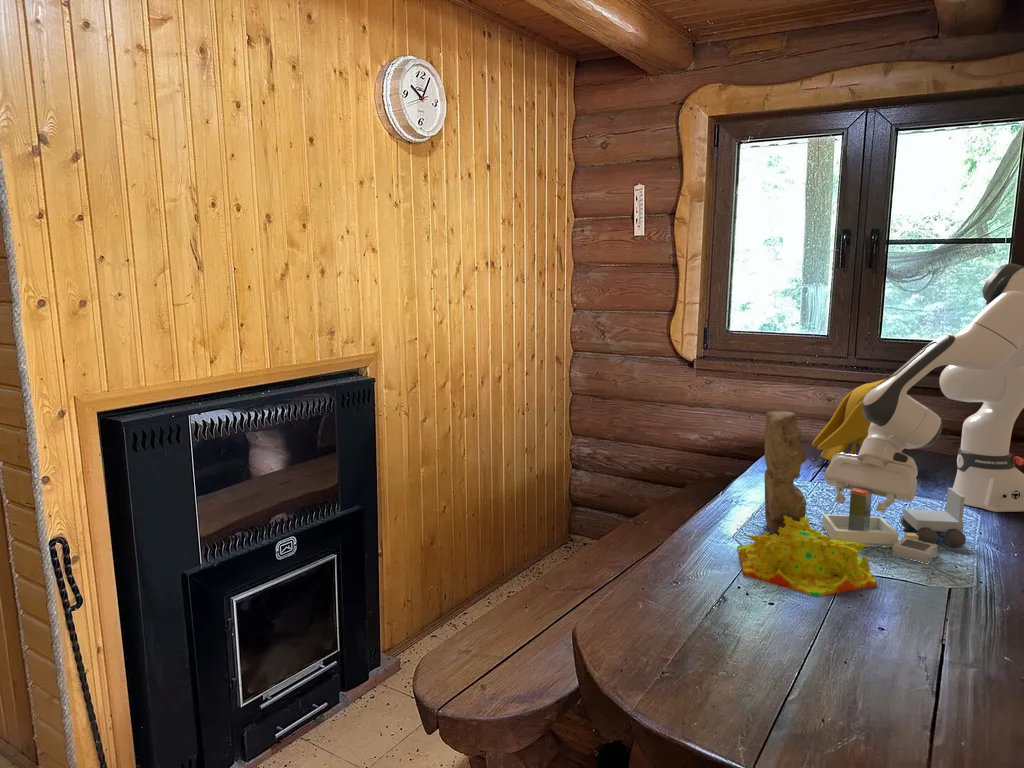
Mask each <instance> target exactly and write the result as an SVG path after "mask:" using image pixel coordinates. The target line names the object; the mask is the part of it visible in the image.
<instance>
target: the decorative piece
mask: <svg viewBox="0 0 1024 768" xmlns="http://www.w3.org/2000/svg"><path fill="white" fill-rule="evenodd" d="M783 517H784V519H785V521H784V522H783V523H785V524H786V526H785V527H784V528H782V527H778V528H779V530H777V531H778V532H779V533H780V534H779V536H778V535H777V534H771V533H770V532H769V531H765V533H764V534H760V535H750V534H749V535H746V536H747V537H748V538H751V539H752V540H753V541H754V542H753V543H748V544H747V543H746V544H744V545H743V544H742V545H737V551H738V556H739V561H740V565H741V571H742V574H743V576H746V577H748V578H749V577H750V578H752V579H755V580H759V581H762V582H766V583H767V584H768V583H769V584H772V585H776V586H779V587H783V588H786V589H789V590H791V591H792V590H793V591H795V592H796V591H797V592H799V593H802V594H806V595H809V596H812V597H820V596H826V595H833V594H837V593H843V592H850V591H851V592H852V591H856V590H860V589H866V588H867V589H868V588H872V587H877V584H878V581H877V580H876V577H875V576H874V574H872V572H871V571H870V565H869V559H868V556H866V557H865V556H864V555H861V557H862V558H861V557H860V556H859V553H860V551H861V550H863V548H864V547H867V546H866V545H870V544H864V543H857V542H851V541H846V540H845V541H844V542H843V541H842V539H838V538H834V539H832V538H831V539H830V537H829V536H828V534H825V533H822V532H820V531H819V530H817V529H814V528H812V527H811V524H810V519H809V518H810V517H808V516H805V517H804V518H800V521H794V520H793V519H792V517H787V515H786V516H785V515H784V516H783Z"/></svg>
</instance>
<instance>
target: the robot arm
mask: <svg viewBox="0 0 1024 768" xmlns="http://www.w3.org/2000/svg"><path fill="white" fill-rule="evenodd" d="M981 290H982V296H983V299H984V300H985V301H986V302H985V304H986V306H984V308H983V309H981V310H980V312H978V314H976V316H974V317H973V319H972V320H971V321H970V322H969V323H968V324H967V326H965V327H964V328H963V329H961V330H960V331H958V332H955V333H953V334H944V335H943V334H942V335H939V336H938V337H937V338H935V339H934V340H932V341H931V342H929V343H928V344H926V345H925V346H924V347H923V348H921V349H920V350H919V351H918V352H916V354H914V355H913V356H912V357H911V358H910V359H908V360H907V361H906V362H905V363H903V365H901V366H900V367H899V368H898V369H897V370H896V371H894V372H893V373H892V374H891V375H890V376H888V377H887V378H885V379H886V380H884V379H883V380H884V381H883V382H881V383H880V384H878V385H877V386H875V387H874V388H872V389H871V390H870V391H869V392H868V393H867V394H866V395H865V397H864V398H863V400H862V410H863V414H864V417H865V419H867V420H868V421H870V422H871V424H870V426H869V429H868V436H867V438H866V439H865V440H864V441H863V444H862V446H861V448H859V451H858V454H856V455H853V454H850V453H845V452H843V453H840V454H836V455H834V456H833V457H832V459H831V460H830V463H829V465H828V466H827V468H826V470H825V471H824V475H823V479H824V481H825V482H826V484H827V485H828V486H831V487H834V488H835V489H836V492H837V495H836V497H835V501H836V503H837V504H842V505H843V504H845V501H846V497H845V494H842V492H845V490H849V491H851V490H852V489H854V488H856V487H860V488H864V489H869V490H872V495H873V496H878V497H883V498H886V499H885V500H884V501H883V502H877V503H878V504H877V506H876V511H877V512H878V513H882V514H885V513H886V511H887V508H889V507H890V506H892V505H893V504H895V501H896V500H897V501H900V502H901V501H902V502H907V503H909V502H911V501H913V500H914V499H915V497H916V493H917V490H918V488H917V487H918V480H917V476H918V474H919V473H918V472H919V471H918V466H917V464H916V462H915V461H916V460H914V458H913V457H911V456H909V455H908V454H905V453H903V452H902V451H903V450H905V449H906V450H918V449H919V450H920V449H924V448H928V447H932V446H934V444H936V442H938V440H939V438H940V436H941V433H942V431H943V420H942V418H941V416H939V415H938V414H937V413H935V411H933V410H931V409H930V408H929V407H927V406H925V405H924V404H922V403H920V402H919V401H917V400H916V399H914V398H913V397H912V396H910V395H908V394H907V392H908V391H909V390H910V389H911V388H912V387H913V386H915V385H916V384H917V383H918V382H919V381H921V380H922V379H923V378H924V377H925V376H926V375H928V374H929V373H930V372H931V371H932V370H934V369H935V368H936V369H937V368H939V367H943V366H945V368H944V369H943V370H942V371H941V373H940V376H939V380H938V381H939V383H938V384H939V388H940V391H941V392H942V394H943V395H944V397H946V398H947V399H949V400H953V401H957V402H966V403H982V405H981V407H980V408H979V409H978V411H976V412H975V413H973V414H971V415H970V416H968V417H966V418H965V420H964V421H963V424H962V430H961V442H960V447H959V448H958V452H957V458H956V467H957V471H956V476H955V479H954V482H953V486H952V488H953V489H954V490H955V491H957V492H958V493H960V494H961V495H963V496H964V497H965V499H964V505H965V506H971V507H974V508H981V509H984V510H987V511H991V512H993V513H994V512H995V513H998V512H999V513H1002V512H1003V513H1005V512H1006V513H1007V512H1010V513H1011V512H1024V472H1022V471H1020V470H1019V469H1018V468H1017V467H1016V465H1018V466H1022V465H1024V458H1022V457H1020V456H1015V455H1014V454H1013V453H1010V445H1011V438H1012V434H1013V433H1012V432H1013V428H1014V424H1015V422H1016V421H1017V419H1018V417H1019V415H1020V413H1021V411H1023V409H1024V266H1023V265H1021V264H1016V263H1010V262H1009V263H1006V264H1002V265H1001V266H999V267H998V268H997V269H995V270H994V271H992V273H991V274H990V275H989V276H987V278H986V280H985V283H984V285H983V288H982V289H981ZM838 455H840V456H838ZM1015 464H1016V465H1015Z"/></svg>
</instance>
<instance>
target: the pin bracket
mask: <svg viewBox="0 0 1024 768" xmlns="http://www.w3.org/2000/svg"><path fill="white" fill-rule="evenodd" d="M938 550H939V546H938V544H936V543H935V544H931V543H927V542H923V541H919V540H915V539H911V538H906V537H904V536H903V537H902V538H900V539H898V542H897V543H895V544H894V545H893V548H892V555H893V557H896V556H898V557H897V558H899V557H903V558H907V559H912V560H916V561H920V562H923V563H928V562H929V561H931V560H932V559H933V558H934V557H935V556H936V557H937V556H938ZM892 555H891V556H892ZM936 557H935V558H936ZM903 558H902V559H903ZM935 558H934V559H935ZM907 559H906V560H907ZM934 559H933V560H934ZM931 562H932V561H931ZM929 563H930V562H929ZM929 563H928V564H929Z"/></svg>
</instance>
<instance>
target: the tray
mask: <svg viewBox="0 0 1024 768" xmlns="http://www.w3.org/2000/svg"><path fill="white" fill-rule="evenodd" d="M821 525H822V526H823V527H824V529H825V530H826V531H827V533H828V534H829V535H830V537H831V538H832V539H834V538H838V539H842V541H843V542H844V541H845V540H846V541H851V542H857V543H864V544H870V545H868V546H867V547H870V546H885V547H884V548H889V547H893V545H894V544H895V543H897V542H898V541H899V532H897V531H896V530H895V529H894V527H892V526H891V525H890V524H889V522H887V521H886V520H885V519H884V518H883V517H882V516H872V515H870V526H869V531H852V530H848V526H849V514H829V513H828V514H827V513H822V524H821ZM824 529H823V530H824ZM825 530H824V531H825ZM827 533H826V534H827ZM828 534H827V535H828Z"/></svg>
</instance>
